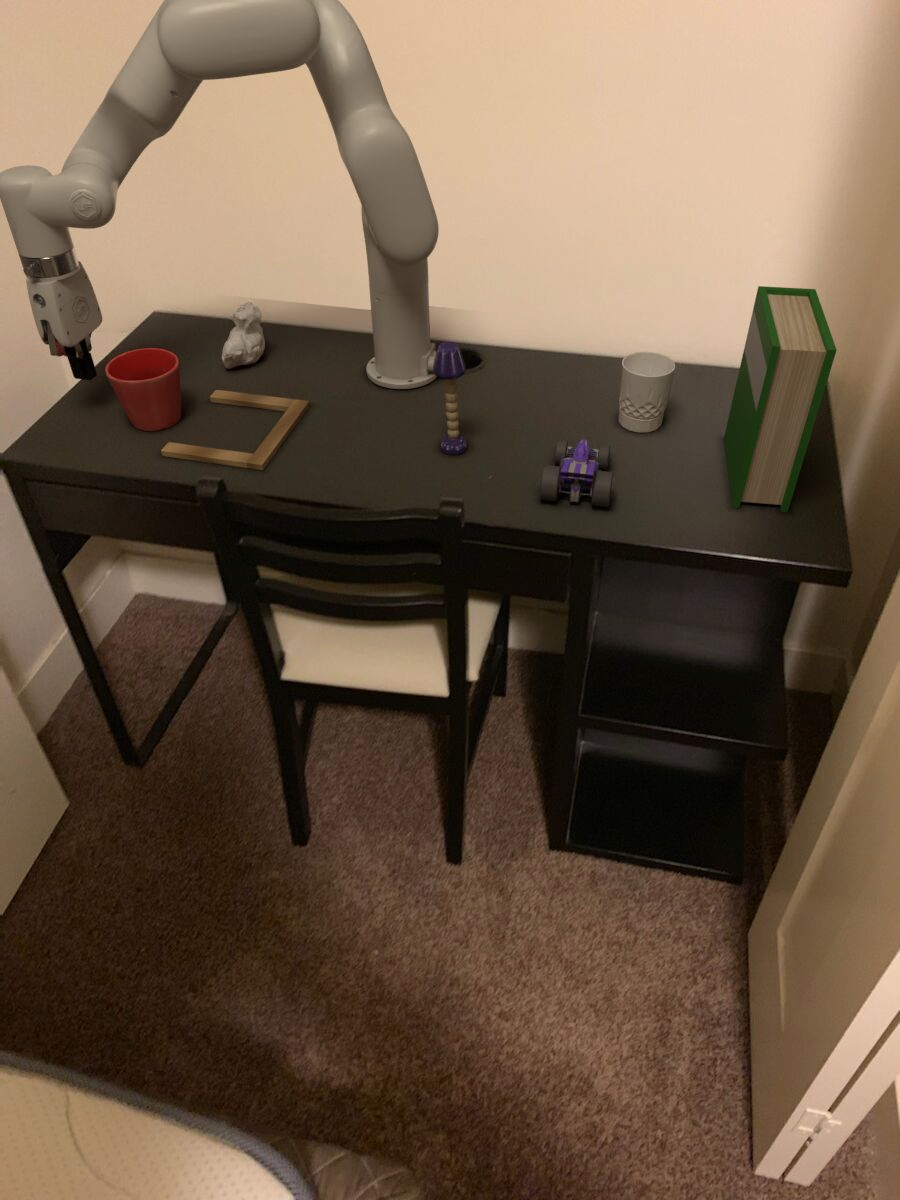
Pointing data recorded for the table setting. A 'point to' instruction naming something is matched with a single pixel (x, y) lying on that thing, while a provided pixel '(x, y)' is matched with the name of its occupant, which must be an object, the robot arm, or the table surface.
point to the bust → (244, 337)
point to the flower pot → (147, 387)
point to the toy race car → (578, 473)
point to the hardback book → (777, 395)
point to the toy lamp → (451, 394)
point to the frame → (268, 446)
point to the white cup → (644, 390)
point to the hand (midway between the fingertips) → (85, 376)
